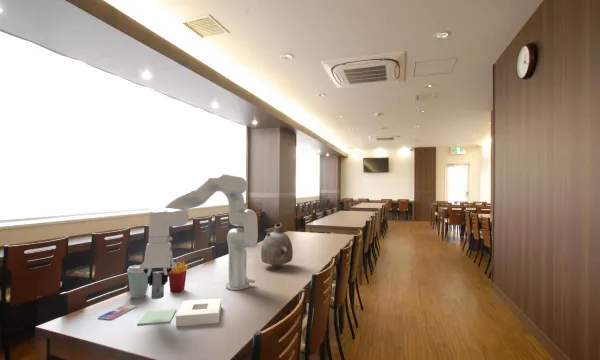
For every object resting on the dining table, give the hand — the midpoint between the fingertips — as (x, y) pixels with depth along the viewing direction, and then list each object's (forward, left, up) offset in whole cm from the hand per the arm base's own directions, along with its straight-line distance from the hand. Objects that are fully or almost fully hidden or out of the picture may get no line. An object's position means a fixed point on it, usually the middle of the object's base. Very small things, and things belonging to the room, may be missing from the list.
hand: (157, 283), depth 124 cm
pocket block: (-17, +2, -14) cm, 22 cm away
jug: (-58, -70, -14) cm, 92 cm away
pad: (0, 0, -14) cm, 14 cm away
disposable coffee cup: (+16, -29, -14) cm, 36 cm away
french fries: (-1, -34, -14) cm, 37 cm away
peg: (0, 0, -5) cm, 5 cm away
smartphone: (+18, -9, -14) cm, 25 cm away
